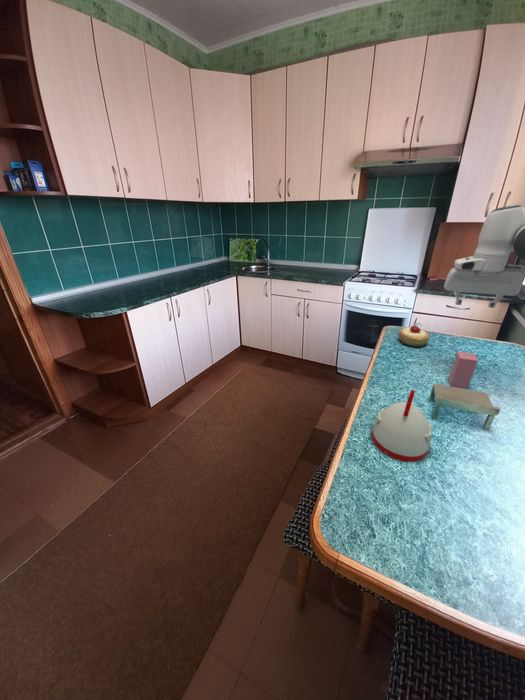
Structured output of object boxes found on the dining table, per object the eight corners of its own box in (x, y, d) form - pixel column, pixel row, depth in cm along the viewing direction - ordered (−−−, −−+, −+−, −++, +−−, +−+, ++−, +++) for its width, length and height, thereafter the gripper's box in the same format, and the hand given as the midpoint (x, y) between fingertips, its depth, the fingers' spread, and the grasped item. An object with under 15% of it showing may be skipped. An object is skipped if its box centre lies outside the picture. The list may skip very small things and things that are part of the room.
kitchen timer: (431, 434, 79) (446, 389, 72) (424, 470, 69) (441, 421, 62) (378, 416, 86) (387, 374, 79) (365, 446, 76) (374, 400, 69)
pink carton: (464, 381, 102) (474, 353, 97) (467, 389, 97) (478, 360, 92) (448, 378, 103) (457, 351, 98) (450, 386, 99) (459, 358, 94)
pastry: (392, 341, 131) (395, 322, 127) (407, 334, 137) (411, 317, 133) (417, 351, 122) (422, 331, 118) (432, 343, 128) (437, 325, 124)
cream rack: (480, 408, 88) (489, 387, 85) (489, 432, 79) (500, 409, 76) (428, 398, 93) (435, 377, 89) (432, 420, 84) (439, 398, 80)
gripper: (525, 263, 90) (508, 306, 96) (449, 260, 97) (438, 300, 103) (533, 267, 84) (515, 312, 91) (452, 263, 91) (441, 305, 98)
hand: (474, 305), depth 97 cm, fingers open, 8 cm apart
